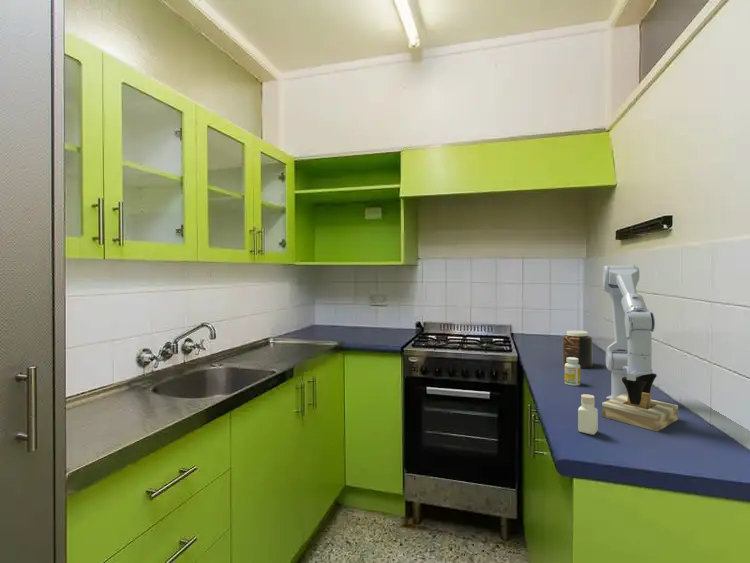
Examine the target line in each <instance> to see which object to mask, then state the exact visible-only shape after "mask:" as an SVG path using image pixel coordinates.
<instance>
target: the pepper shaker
mask: <svg viewBox="0 0 750 563" xmlns="http://www.w3.org/2000/svg"><path fill="white" fill-rule="evenodd" d="M595 398H596V397H595V396H594V395H593V394H589V393H588V394H584V393H583V394H581V395H580V403H581V405H580V406H579V407H578V409H577V414H578V416H577V419H578V420H577V426H578V427H577V428H578V429H577V430H578V432H580V433H583V434H587V435H595V434H596V433H597V432H598V430H599V417H598V416H599V414H598V413H599V412H598V411H599V410H598V409H597V408H596V407H595V404H596V402H595V400H596V399H595Z"/></svg>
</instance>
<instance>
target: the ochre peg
mask: <svg viewBox="0 0 750 563" xmlns="http://www.w3.org/2000/svg"><path fill="white" fill-rule="evenodd" d="M651 395H652V394H651V393H650V394H649V393H644V392H642V396H641V402H640V405H636V404H631V403H630V400H629V396H628V405H630V406H635V407H639V408H643V409H647V410H648V409H650V408H651V400H652V398H651V397H652V396H651Z"/></svg>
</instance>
